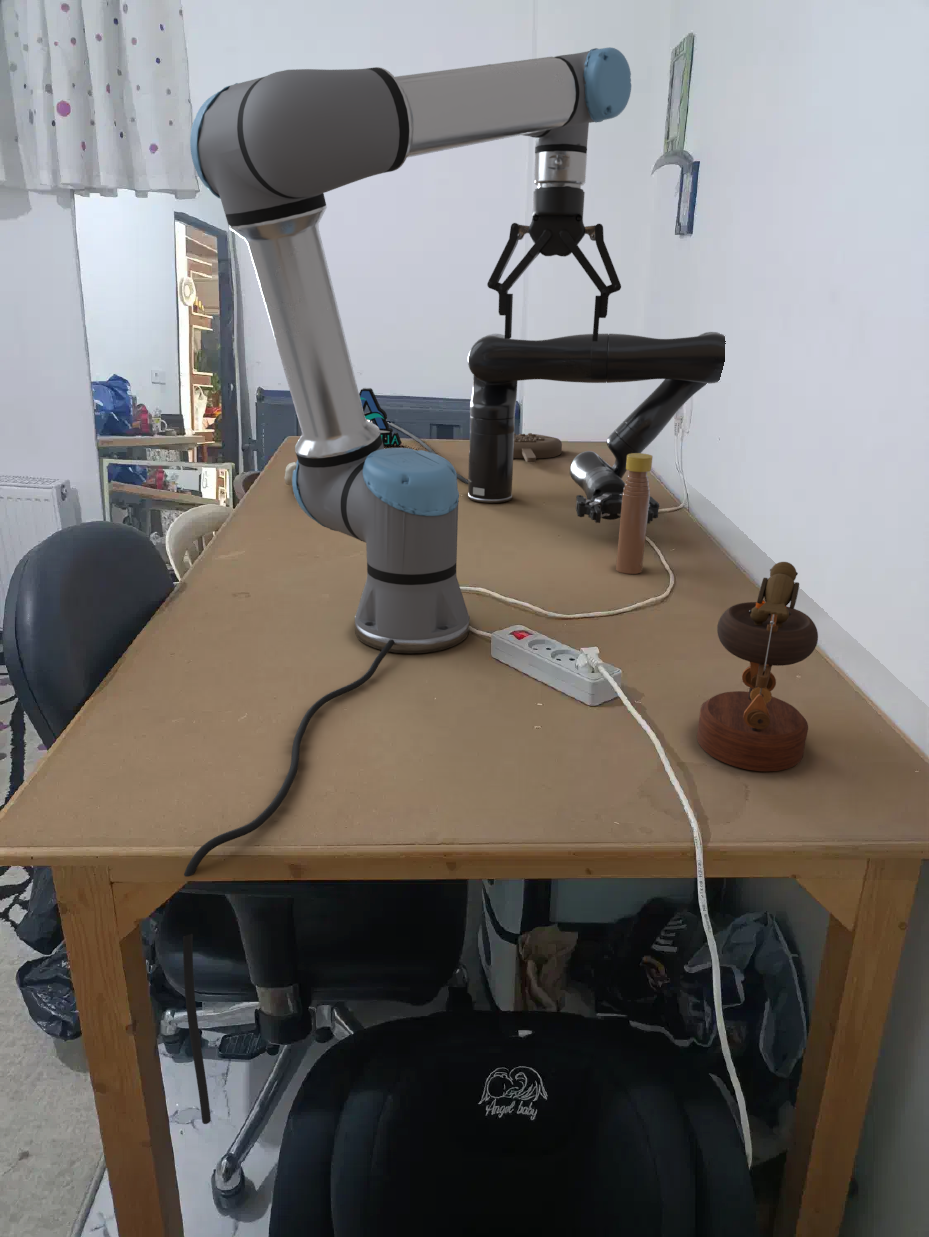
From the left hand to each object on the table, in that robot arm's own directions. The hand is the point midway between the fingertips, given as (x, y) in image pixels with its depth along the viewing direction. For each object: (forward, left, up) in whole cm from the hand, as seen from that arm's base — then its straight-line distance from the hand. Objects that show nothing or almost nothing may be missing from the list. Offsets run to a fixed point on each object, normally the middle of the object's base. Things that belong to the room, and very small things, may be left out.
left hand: (551, 339), depth 132 cm
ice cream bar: (+82, +5, -35) cm, 89 cm away
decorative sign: (+91, +49, -35) cm, 109 cm away
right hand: (+3, -14, -29) cm, 32 cm away
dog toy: (+43, +47, -35) cm, 73 cm away
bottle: (-6, -15, -35) cm, 39 cm away
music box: (-60, -23, -35) cm, 73 cm away
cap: (-6, -15, -17) cm, 23 cm away
